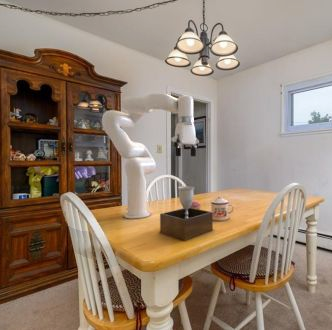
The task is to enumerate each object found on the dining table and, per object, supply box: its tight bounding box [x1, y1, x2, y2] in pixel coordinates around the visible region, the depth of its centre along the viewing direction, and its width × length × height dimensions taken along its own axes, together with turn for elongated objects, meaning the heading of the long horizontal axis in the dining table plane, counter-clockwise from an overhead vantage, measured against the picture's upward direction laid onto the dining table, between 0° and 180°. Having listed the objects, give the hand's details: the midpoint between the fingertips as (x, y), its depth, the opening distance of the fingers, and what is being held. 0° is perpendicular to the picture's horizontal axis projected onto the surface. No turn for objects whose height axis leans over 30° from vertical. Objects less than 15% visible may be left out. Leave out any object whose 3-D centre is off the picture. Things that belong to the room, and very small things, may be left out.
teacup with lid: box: [210, 195, 235, 222], centre depth 116 cm, size 12×9×12 cm
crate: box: [159, 207, 214, 242], centre depth 95 cm, size 16×16×8 cm
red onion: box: [190, 201, 202, 210], centre depth 123 cm, size 9×8×12 cm
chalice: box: [177, 185, 196, 219], centre depth 95 cm, size 7×7×18 cm
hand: (186, 156), depth 111 cm, fingers open, 9 cm apart
